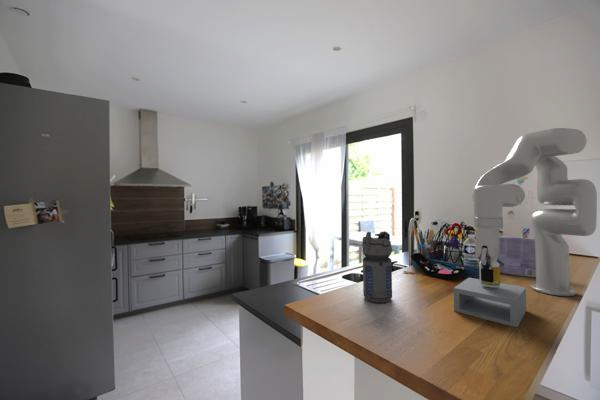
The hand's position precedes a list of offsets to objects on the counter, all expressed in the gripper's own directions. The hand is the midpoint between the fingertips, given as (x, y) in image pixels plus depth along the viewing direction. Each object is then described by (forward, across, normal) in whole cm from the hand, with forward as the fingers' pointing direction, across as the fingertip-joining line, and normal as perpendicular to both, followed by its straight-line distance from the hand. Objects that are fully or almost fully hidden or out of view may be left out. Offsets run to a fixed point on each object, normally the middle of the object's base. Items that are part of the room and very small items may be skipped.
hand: (489, 278), depth 86 cm
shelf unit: (+10, 0, 0) cm, 10 cm away
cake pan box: (+11, -57, -2) cm, 58 cm away
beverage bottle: (+10, +15, -31) cm, 36 cm away
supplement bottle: (+2, 0, 0) cm, 2 cm away
